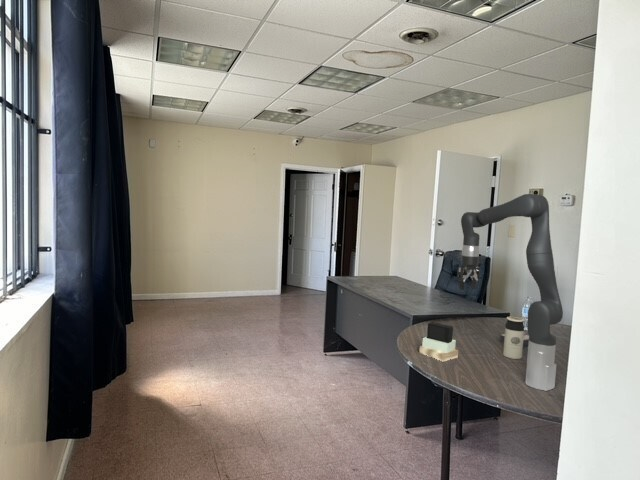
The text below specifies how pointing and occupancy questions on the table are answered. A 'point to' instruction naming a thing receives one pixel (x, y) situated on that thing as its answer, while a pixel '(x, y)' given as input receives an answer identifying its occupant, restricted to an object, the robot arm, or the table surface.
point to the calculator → (525, 339)
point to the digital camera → (440, 332)
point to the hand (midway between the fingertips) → (467, 289)
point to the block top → (438, 345)
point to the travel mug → (513, 338)
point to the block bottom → (439, 354)
